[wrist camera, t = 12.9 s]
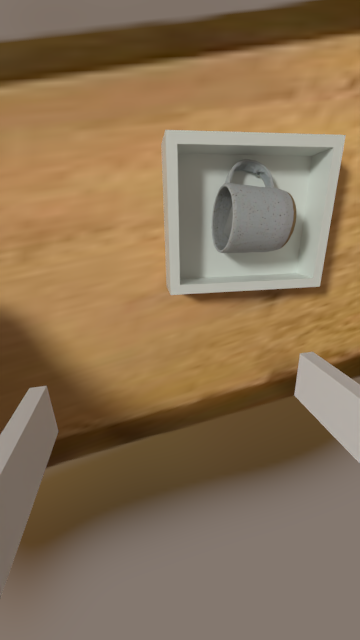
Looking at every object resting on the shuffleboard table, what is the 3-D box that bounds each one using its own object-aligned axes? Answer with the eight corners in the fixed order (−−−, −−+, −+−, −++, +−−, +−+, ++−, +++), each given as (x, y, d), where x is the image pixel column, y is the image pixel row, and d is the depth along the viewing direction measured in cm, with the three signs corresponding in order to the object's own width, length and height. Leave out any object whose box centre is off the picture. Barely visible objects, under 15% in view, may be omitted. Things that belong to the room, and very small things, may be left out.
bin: (166, 286, 37) (170, 294, 33) (161, 143, 31) (165, 129, 27) (298, 279, 40) (319, 286, 35) (317, 147, 34) (345, 135, 29)
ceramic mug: (266, 249, 37) (297, 254, 29) (209, 250, 35) (228, 255, 28) (275, 163, 33) (313, 145, 26) (212, 161, 32) (234, 141, 25)
